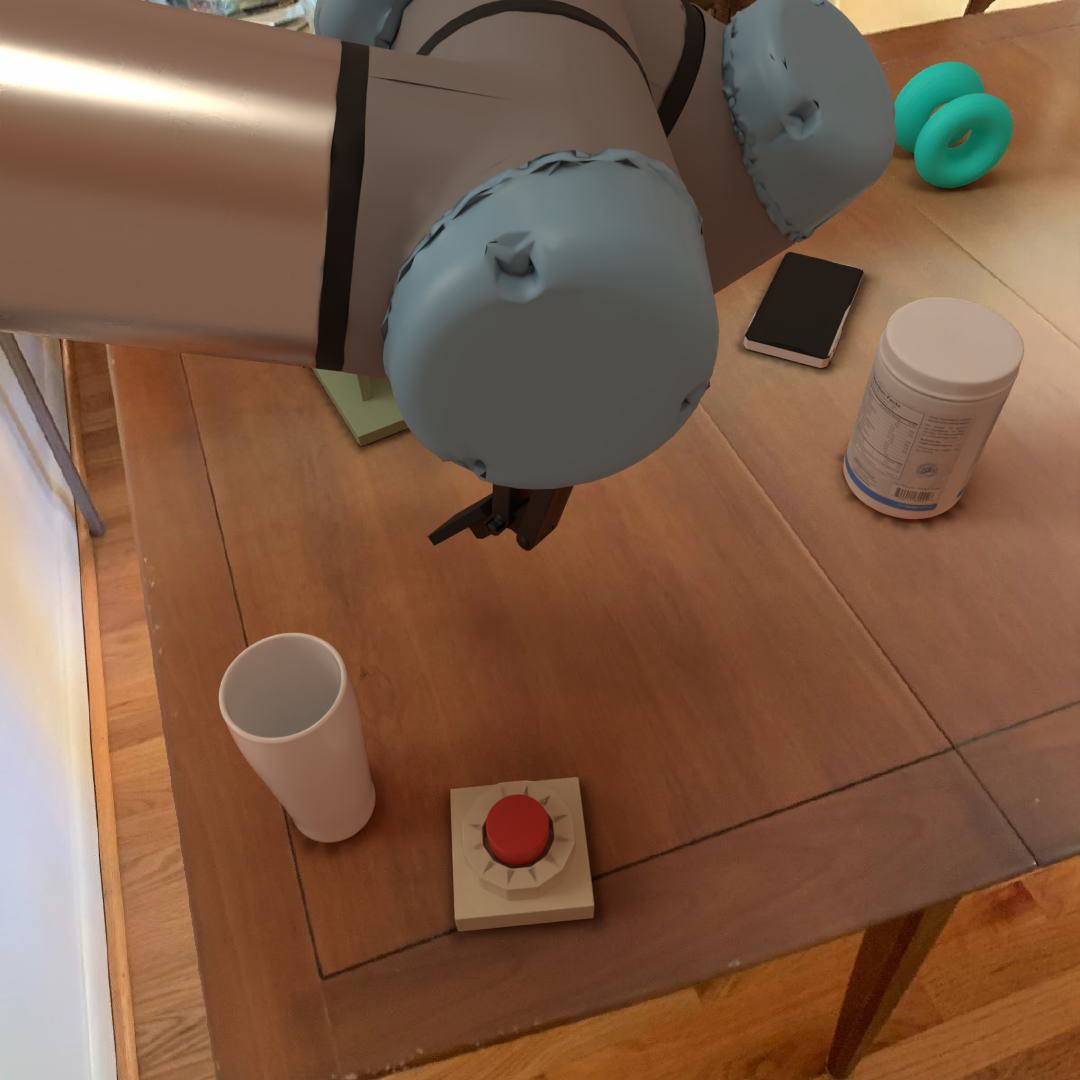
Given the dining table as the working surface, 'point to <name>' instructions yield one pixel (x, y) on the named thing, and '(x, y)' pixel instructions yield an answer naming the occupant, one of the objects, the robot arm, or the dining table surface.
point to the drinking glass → (302, 732)
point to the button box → (520, 890)
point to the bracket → (363, 404)
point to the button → (517, 829)
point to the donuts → (951, 124)
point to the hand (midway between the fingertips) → (381, 443)
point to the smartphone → (804, 310)
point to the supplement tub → (930, 405)
